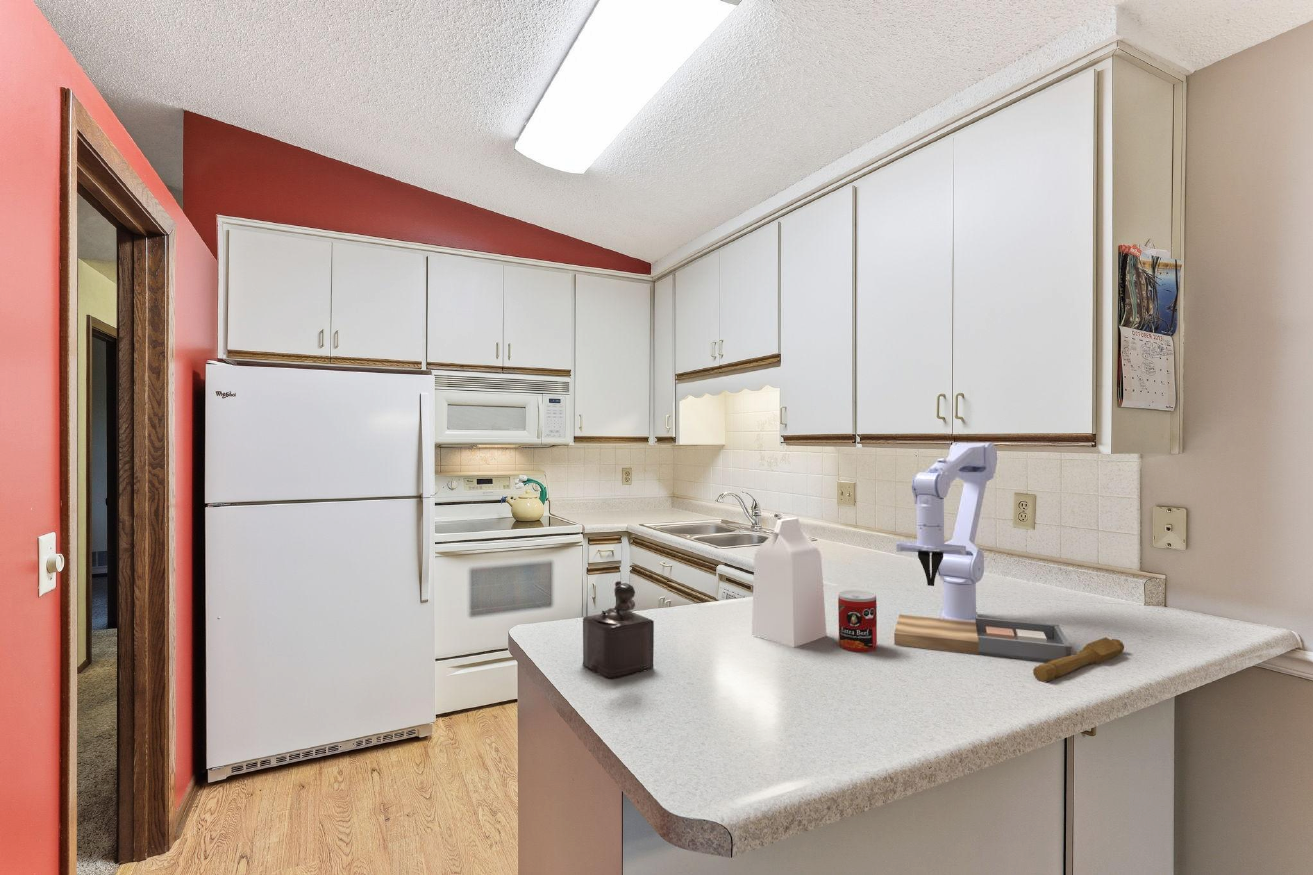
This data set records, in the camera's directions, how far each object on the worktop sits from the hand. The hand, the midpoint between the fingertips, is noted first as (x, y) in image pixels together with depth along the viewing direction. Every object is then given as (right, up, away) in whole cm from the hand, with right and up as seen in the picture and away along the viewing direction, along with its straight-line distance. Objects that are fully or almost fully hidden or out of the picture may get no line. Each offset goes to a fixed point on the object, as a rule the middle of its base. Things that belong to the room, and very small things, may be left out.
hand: (930, 584), depth 146 cm
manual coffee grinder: (-69, -11, -24) cm, 73 cm away
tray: (+13, -10, -12) cm, 21 cm away
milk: (-33, -11, -3) cm, 35 cm away
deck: (-1, -10, -6) cm, 12 cm away
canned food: (-20, -11, -11) cm, 25 cm away
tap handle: (+19, -10, -22) cm, 31 cm away
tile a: (+10, -10, -11) cm, 18 cm away
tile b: (+15, -10, -13) cm, 22 cm away
